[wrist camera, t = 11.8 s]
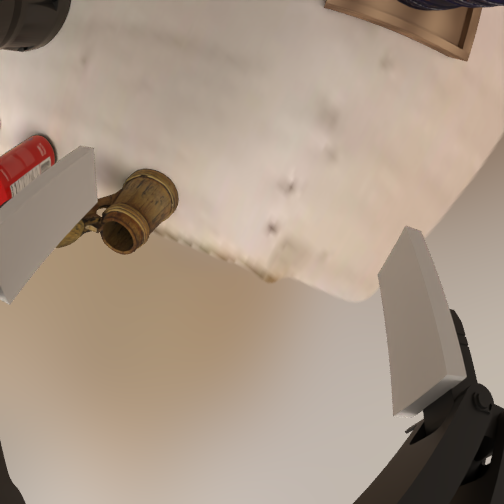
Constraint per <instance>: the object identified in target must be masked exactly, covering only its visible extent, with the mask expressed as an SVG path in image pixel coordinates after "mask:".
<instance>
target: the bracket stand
mask: <svg viewBox="0 0 504 504" xmlns="http://www.w3.org/2000/svg"><path fill="white" fill-rule="evenodd" d="M324 8H327V9H331V10H334V11H338V12H341V13H345V14H348V15H351V16H354V17H357V18H360V19H363V20H366V21H369V22H371V23H374V24H377V25H380V26H382V27H385V28H387V29H390V30H392V31H395V32H397V33H400V34H402V35H404V36H407V37H409V38H411V39H413V40H416V41H418V42H420V43H422V44H424V45H426V46H428V47H430V48H432V49H434V50H436V51H438V52H440V53H442V54H444V55H446V56H448V57H452V58H456V59H460V60H463V61H468V58H469V55H470V51H471V48H472V45H473V41H474V38H475V34H476V30H477V26H478V23H479V19H480V15H481V10H482V7H479V8H469V7H462V6H461V7H459V8H455V9H449V10H439V11H436V10H432V11H424V10H418V9H414V8H411V7H408V6H406V5H404V4H402V3H400V2H399V1H397V0H326V2H325V6H324Z"/></svg>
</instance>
